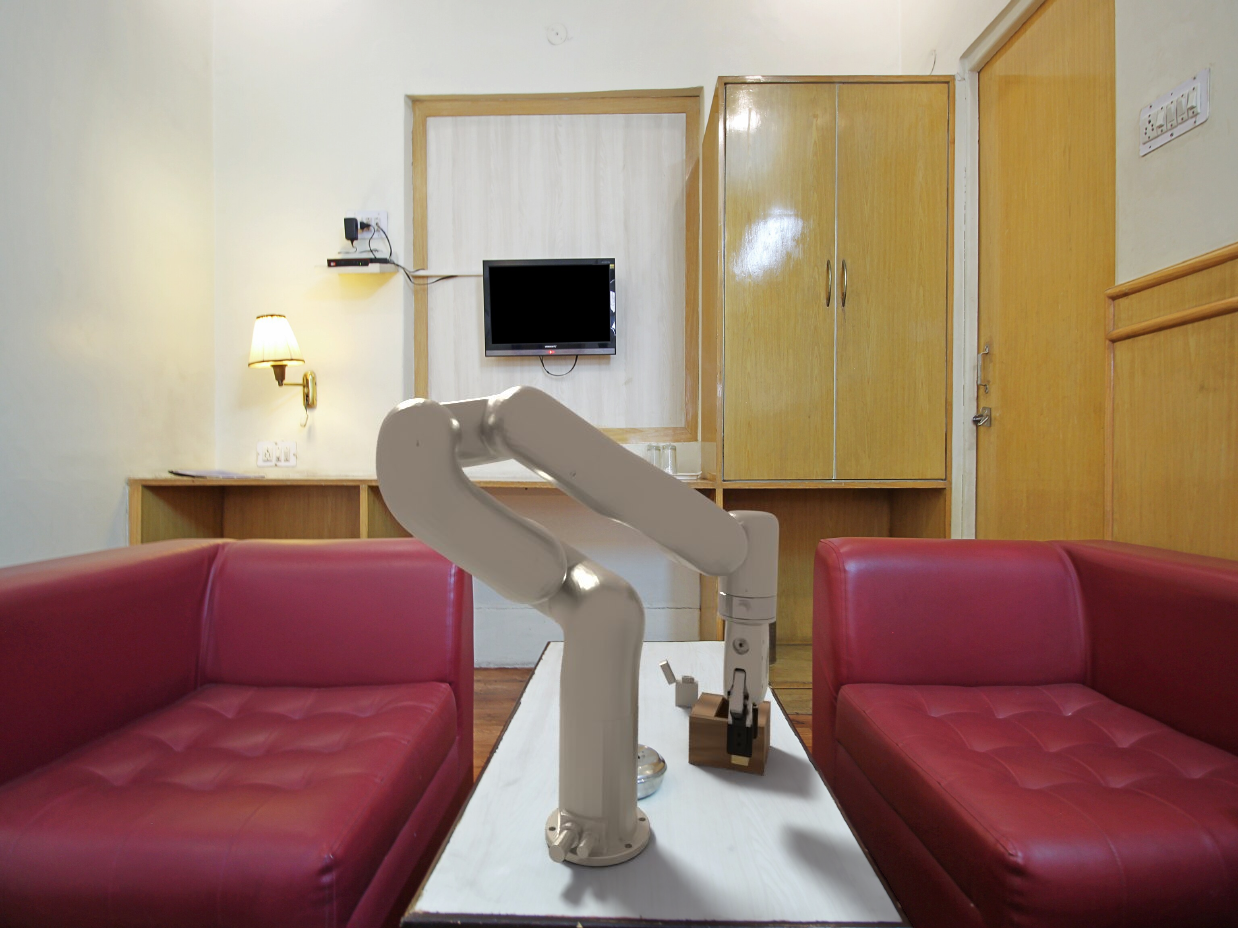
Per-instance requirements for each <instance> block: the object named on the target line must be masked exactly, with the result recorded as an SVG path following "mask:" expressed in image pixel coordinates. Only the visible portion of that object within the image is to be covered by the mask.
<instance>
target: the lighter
mask: <svg viewBox="0 0 1238 928" xmlns="http://www.w3.org/2000/svg"><path fill="white" fill-rule="evenodd" d="M659 667H660V669H661V671H662V673H663V675H664V677H665V680H666V681H667V684H668V685H669V686H670V685H672V684H675V687H674V688H675V695H674V696H675V697H674V699H675V701H674V705H675V707H683V708H684V707H685V708H694V706H695V704H696V702H697V701H698V699H699V680H695V677H693V676H692V675H685V674H681V679H678V678H676V676H675V673H674V672H673V669H672V667H671V665H670V662H669V661H668V659H664V660H662V661H660V662H659Z"/></svg>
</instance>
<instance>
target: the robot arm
mask: <svg viewBox="0 0 1238 928" xmlns="http://www.w3.org/2000/svg"><path fill="white" fill-rule="evenodd" d="M375 447H376V448H375V449H376V450H375V473H376V474H375V475H376V480H377V484H378V485H377V486H378V489H379V491H380V494H381V496H382V499H383V501H384V503H385V504H386V507H387V509H388V510H389V512H390V513H391V515H392V516H393V517H394V518H395V520H396V521H397V522H398V523H399V524H400V525H401V526H402V527H403V528H404V529H405V530H406V531H407V532H408V533H409V534H411V535H412V536H413V537H414V538H416V539H417V540H418V541H420V542H421V543H423V544H425V545H426V546H428V547H429V548H431V549H432V550H434V551H435V552H437V553H438V554H439V555H441V556H443V557H444V558H446V559H447V560H448V561H450V562H451V563H452V564H454V565H456V566H457V567H458V568H460V569H462V570H463V571H465V572H467V574H469V575H471V576H472V577H474V578H476V579H477V580H479V581H481V582H482V583H484V584H485V585H486V586H487V587H489V588H491V590H493V591H495V592H496V593H497V594H498V595H500V596H501V597H503V598H504V599H506V600H508V601H510V602H513V603H517V604H519V605H520V604H521V605H528V606H529V607H531V608H533V609H535V610H536V611H537V612H539V613H541V614H543V615H544V616H546V617H547V618H549V619H550V620H552V621H554V622H555V623H557V625H558V626H559V627H560V629H561V630H562V632H563V649H562V657H561V663H560V672H559V673H560V674H559V692H558V693H559V697H558V698H559V699H558V701H559V702H558V703H559V704H558V705H559V719H558V720H559V721H558V722H559V732H558V733H559V735H558V737H559V738H558V740H559V741H558V743H559V745H558V806H557V808H556V809H554V810H553V811H552V813H550V814H549V816H548V818H547V820H546V823H545V827H544V828H545V829H544V831H545V833H544V834H545V840H546V842H547V845H548V847H549V848H548V856H549V858H550V859H551V860H552V862H554V863H558V864H559V863H562V862H563V861H564V860H566V861H568V862H571V863H574V864H576V865H577V864H578V865H581V866H589V867H605V866H611V865H618V864H620V863H623V862H627V861H628V860H630V859H632V858H634V857H636V856H637V855H639V854H640V853H642V851H643V850H644V849H645V848H646V846H647V845H648V843H649V841H650V836H651V823H650V820H649V817H648V816H647V815H646V813H645V812H644V811H643V810H642V809H641V808H640V807H638V798H639V797H638V796H639V795H638V793H639V792H638V791H639V787H638V786H639V783H638V781H639V710H640V709H639V706H640V705H639V697H640V695H639V694H640V693H639V691H640V690H639V689H640V685H639V684H640V667H641V657H642V651H643V646H644V639H645V633H646V613H645V607H644V605H643V601H642V599H641V597H640V595H639V593H638V592H637V590H636V589H635V587H633V586H632V584H631V583H630V582H629V581H627V579H625V578H623V577H622V576H621V575H619V574H617V573H615V572H614V571H612V570H610V569H608V568H606V567H605V566H603V565H601V564H599V563H598V562H596V561H595V560H593V559H592V558H590V557H588V556H587V555H586V554H583V552H581V551H580V550H577V549H576V547H573V546H572V545H571V544H569V543H567V541H564V540H563V539H562V538H560V537H558V536H557V535H555V534H554V533H553V532H552V531H551V530H549V529H548V528H546V527H545V526H544V525H543V524H540V523H539V522H538V521H535V520H533V519H531V518H528V517H524V516H523V515H521V514H519V513H517V512H516V511H515V510H513V509H511V508H510V507H508V505H506V504H504V503H503V502H501V501H499V500H498V499H497V498H495V496H493V495H492V494H490V493H489V492H487V491H486V490H484V489H483V488H481V487H480V486H478V485H477V484H476V483H474V482H473V481H472V480H471V479H470V478H469V477H468V476H467V474H466V473H465V471H464V469H465V468H473V467H475V466H476V467H477V466H483V465H488V464H494V463H499V462H505V461H509V460H514V461H516V462H517V463H519V464H520V465H522V466H523V467H525V468H526V469H528V470H530V471H531V472H532V473H534V474H535V475H537V476H539V477H540V478H542V479H543V480H544V481H546V482H548V483H550V485H552V486H553V487H555V488H557V489H558V490H560V491H562V492H563V493H565V494H566V495H567V496H569V497H570V498H572V499H573V500H575V501H576V502H578V503H579V504H581V505H582V506H584V507H585V508H587V509H589V510H591V511H593V512H595V513H597V514H598V515H600V516H602V517H605V518H606V519H609V520H612V521H614V522H617V523H620V524H621V525H624V526H627V527H629V528H631V529H633V530H635V531H637V532H639V533H640V534H642V535H644V536H645V537H647V538H649V539H650V540H652V541H654V542H655V543H657V545H658V548H659V549H660V551H661V553H662V554H663V555H664V557H666V558H667V559H669V560H670V561H672V562H673V563H675V564H678V565H679V566H682V567H684V568H687V569H690V570H693V571H694V572H696V573H697V572H698V573H699V574H702V575H704V576H707V577H711V578H712V577H713V578H717V579H718V583H717V589H718V590H717V610H716V611H717V613H716V614H717V617H718V618H719V619H722V620H723V621H725V622H724V623H725V626H724V636H723V637H724V643H723V670H722V671H723V673H722V684H723V685H722V688H723V689H722V690H723V692H722V693H723V694H722V695H724V697H725V698H726V699H727V700H729V716H728V722H727V747H726V752H727V753H728V754H730V755H736V756H741V757H747V758H751V757H752V754H753V739H756V738H757V735H758V708H754V707H757V705H760V704H761V703H762V702H763V701H765V698H766V694H767V691H768V687H769V681H770V679H769V678H770V677H769V676H770V675H769V674H770V673H769V671H770V669H769V666H770V665H769V663H770V662H769V661H770V660H769V659H770V626H769V625H770V624H772V623H775V622H776V621H777V605H778V604H777V602H778V601H777V600H778V577H779V575H778V574H779V573H778V571H779V569H778V568H779V547H780V546H779V543H780V542H779V540H780V538H779V537H780V524H779V520H778V518H777V516H776V515H774V514H773V513H770V512H766V511H760V510H743V509H742V510H739V509H738V510H729V511H727V510H725V509H723V508H722V507H721V506H720V505H719V504H717V503H715V502H714V501H713V500H711V499H710V498H709V497H706V495H704V494H702V493H701V492H699V491H698V490H696V489H695V488H693V487H692V486H690V485H688V484H687V483H685V482H684V481H682V480H681V479H679V478H677V477H675V476H674V475H672V474H670V473H668V472H666V471H665V470H663V469H661V468H660V467H658V466H656V465H655V464H653V463H651V462H650V461H648V460H647V459H645V458H644V457H641V456H640V455H638V454H636V453H635V452H632V451H630V450H629V449H627V448H626V447H625V446H623V445H621V444H620V443H618V442H617V441H616V440H614V438H611V437H610V436H608V434H606V433H604V432H602V431H601V430H600V429H598V428H597V427H595V426H594V425H592V424H591V423H590V422H589V421H587V420H585V419H584V418H583V417H582V416H580V415H579V414H577V413H576V412H574V411H573V410H571V409H570V408H569V407H567V406H565V405H564V404H563V403H561V402H560V401H558V400H557V399H556V398H554V397H553V396H551V395H550V394H549V393H546V392H545V391H543V390H542V389H540V388H539V389H538V388H536V387H534V386H529V385H519V386H514V387H511V388H509V389H507V390H504V391H503V392H502V393H500V394H496V395H492V396H485V397H480V398H473V399H466V400H459V401H458V400H457V401H451V402H449V401H448V402H441V403H440V402H438V401H435V400H432V399H428V398H413V399H408V400H405V401H403V402H401V403H399V404H397V405H396V406H394V407H393V408H392V409H390V411H389V412H388V413H387V415H386V416H385V418H384V419H383V421H382V422H381V425H380V428H379V432H378V435H377V441H376V446H375ZM729 698H730V699H729ZM746 711H747V712H746ZM752 712H753V725H751V718H752Z"/></svg>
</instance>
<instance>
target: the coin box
mask: <svg viewBox="0 0 1238 928" xmlns="http://www.w3.org/2000/svg"><path fill="white" fill-rule="evenodd" d="M729 699H730V698H729ZM771 705H772V704H771V701H770V700H764V701H763V702H762V703H761V704H760V705H757V707H754V708H758V735H757V738H756V739H753V754H752V757H751V758H749V762H748V766H746V765H740V764H735V763H731V762H732V755H730V754H728V753H727V752H726V747H727V722H728V716H729V700H727V699H726V698H725V697H724V694H720V693H719V694H718V693H711V692H704V691H702V692H701V693H700V696H698V701H697V702H696V704H695V706H694V707H692V710H691V712H690V713H689V715H688V760H687V761H688V763H689V764H695V765H700V766H706V767H710V768H711V767H712V768H716V769H717V768H718V769H723V770H729V771H736V772H741V773H748V774H752V775H758V776H764V775H765V772H766V767H767V763H768V758H769V751H770V748H771V711H772V710H771Z"/></svg>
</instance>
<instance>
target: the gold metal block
mask: <svg viewBox="0 0 1238 928" xmlns="http://www.w3.org/2000/svg"><path fill="white" fill-rule="evenodd" d="M746 712H747V711H746ZM751 725H753V712H752V718H751ZM748 762H749V758H747V757H741V756H736V755H732V762H731V763H735V764H740V765H746V766H748Z"/></svg>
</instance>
